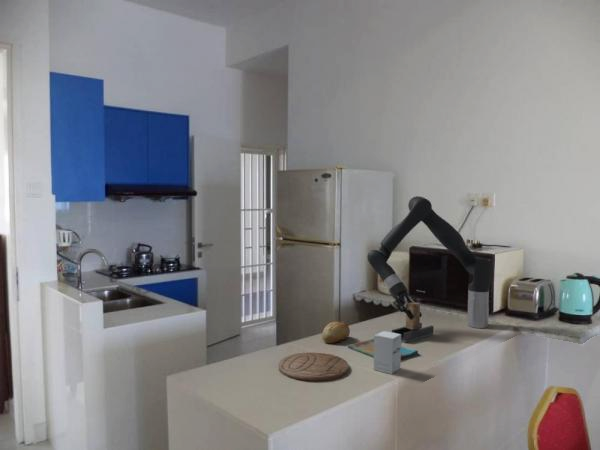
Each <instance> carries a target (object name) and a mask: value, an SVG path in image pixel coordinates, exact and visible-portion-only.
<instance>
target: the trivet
mask: <svg viewBox="0 0 600 450" xmlns="http://www.w3.org/2000/svg"><path fill="white" fill-rule="evenodd" d="M278 371H279V372H280V373H281V375H283V376H285V377H287V378H289V379H292V380H296V381H297V380H298V381H303V382H315V383H316V382H328V381H333V380H337V379H341V378H343V377H344V376H346V375H347V374H348V373H349V362H348V361H347V360H346V359H345V358H342V357H340V356H338V355H334V354H331V353H324V352H301V353H294V354H291V355H288V356H285V357H283V358H282V359H280V361H279V362H278Z"/></svg>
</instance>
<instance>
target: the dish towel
mask: <svg viewBox="0 0 600 450" xmlns="http://www.w3.org/2000/svg"><path fill="white" fill-rule="evenodd" d="M347 349H350V350H352V351H355V352H358V353H361V354H363V355H365V356H368V357H371V358H373V359H374V338H372V339H368V340H365V341H359V342H356V343H351V344H348V346H347ZM418 356H420V353H419V350H417V349H414V350H412V349H410V348H409V349H408V348H406V347H405V346H401V361H404V360H407V359H412V358H414V357H415V358H416V357H418Z"/></svg>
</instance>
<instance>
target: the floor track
mask: <svg viewBox="0 0 600 450" xmlns="http://www.w3.org/2000/svg"><path fill="white" fill-rule="evenodd" d="M434 328H435V327H434V325H427V326H424V327H423V323H422V322H420V324H419V328H417V329H413V330H412V329H408V328H406V325H405V326H402V327H397V328H393V329H391V332H392V333H397V334H401V343H403V344H408V343H410V342H413V341H416V340H420V339H424V338H428V337H430V336H433V335H434Z"/></svg>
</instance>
